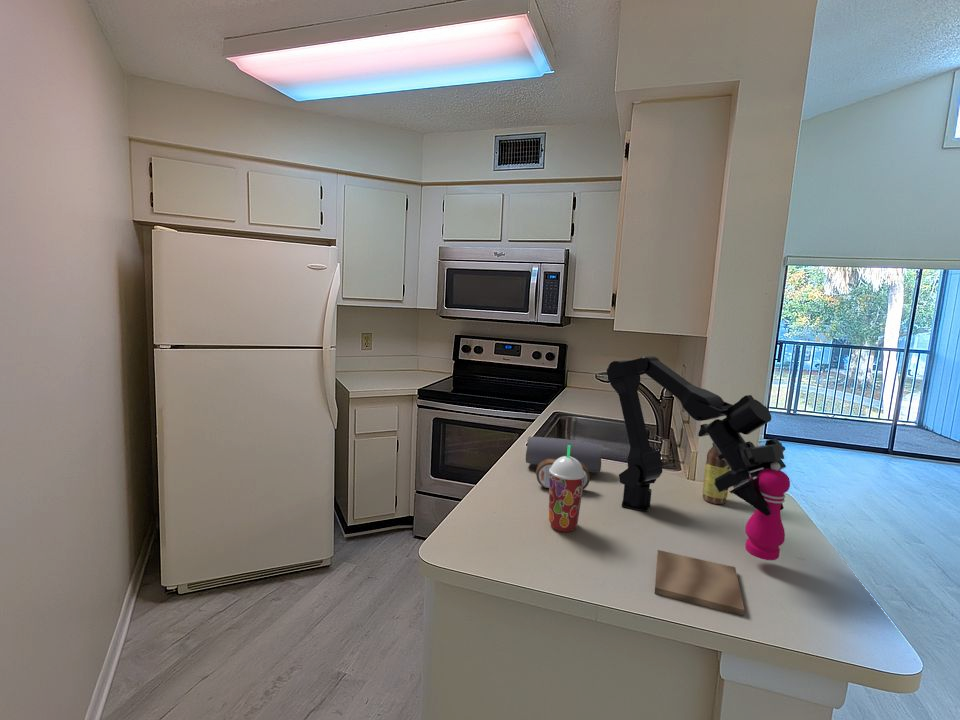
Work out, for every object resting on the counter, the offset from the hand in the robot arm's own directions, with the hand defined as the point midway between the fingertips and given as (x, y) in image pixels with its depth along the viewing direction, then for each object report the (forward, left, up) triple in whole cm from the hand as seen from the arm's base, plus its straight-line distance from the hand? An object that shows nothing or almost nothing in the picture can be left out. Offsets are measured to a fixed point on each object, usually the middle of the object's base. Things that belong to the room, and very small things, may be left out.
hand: (775, 512), depth 102 cm
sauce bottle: (-8, +34, -13) cm, 37 cm away
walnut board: (-14, -12, -13) cm, 23 cm away
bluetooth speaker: (-51, +36, -13) cm, 64 cm away
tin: (-48, +21, -13) cm, 54 cm away
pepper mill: (-1, +1, -10) cm, 10 cm away
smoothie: (-43, -1, -13) cm, 45 cm away
